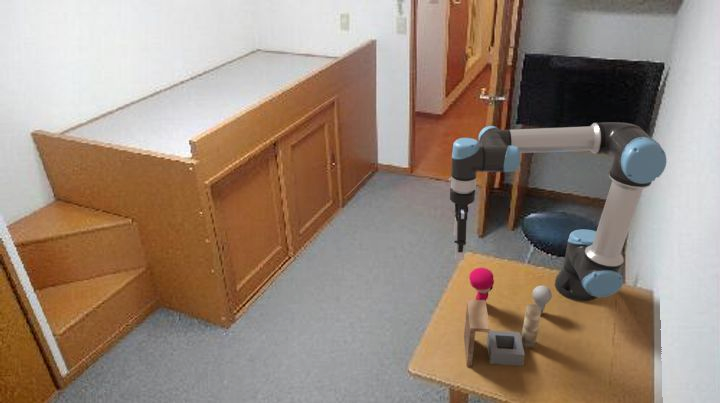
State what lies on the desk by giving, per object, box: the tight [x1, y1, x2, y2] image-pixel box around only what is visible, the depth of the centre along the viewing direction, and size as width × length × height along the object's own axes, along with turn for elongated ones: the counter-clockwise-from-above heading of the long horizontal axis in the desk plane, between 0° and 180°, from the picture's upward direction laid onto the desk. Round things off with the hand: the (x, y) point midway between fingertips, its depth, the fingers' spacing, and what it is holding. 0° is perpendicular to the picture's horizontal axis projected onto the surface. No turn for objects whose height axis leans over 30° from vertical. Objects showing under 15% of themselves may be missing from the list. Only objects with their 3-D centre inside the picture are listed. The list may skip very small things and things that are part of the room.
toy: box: [469, 267, 495, 302], centre depth 186 cm, size 8×8×15 cm
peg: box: [521, 303, 542, 349], centre depth 170 cm, size 4×4×14 cm
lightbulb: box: [531, 285, 553, 315], centre depth 183 cm, size 6×6×11 cm
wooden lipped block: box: [463, 298, 491, 367], centre depth 167 cm, size 6×13×15 cm, turn 174°
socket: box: [486, 330, 526, 367], centre depth 169 cm, size 10×10×4 cm
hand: (458, 247), depth 175 cm, fingers open, 13 cm apart
